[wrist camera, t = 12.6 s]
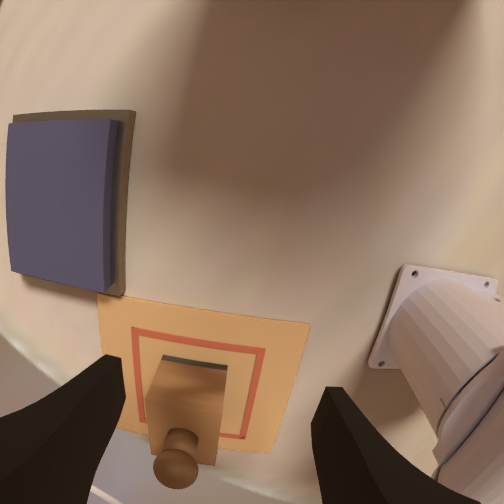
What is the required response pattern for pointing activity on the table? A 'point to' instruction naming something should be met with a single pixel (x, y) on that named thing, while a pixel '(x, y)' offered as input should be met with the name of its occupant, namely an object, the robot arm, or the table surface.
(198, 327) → the card board
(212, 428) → the stamp
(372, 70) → the table surface
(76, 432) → the robot arm
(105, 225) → the ink pad
